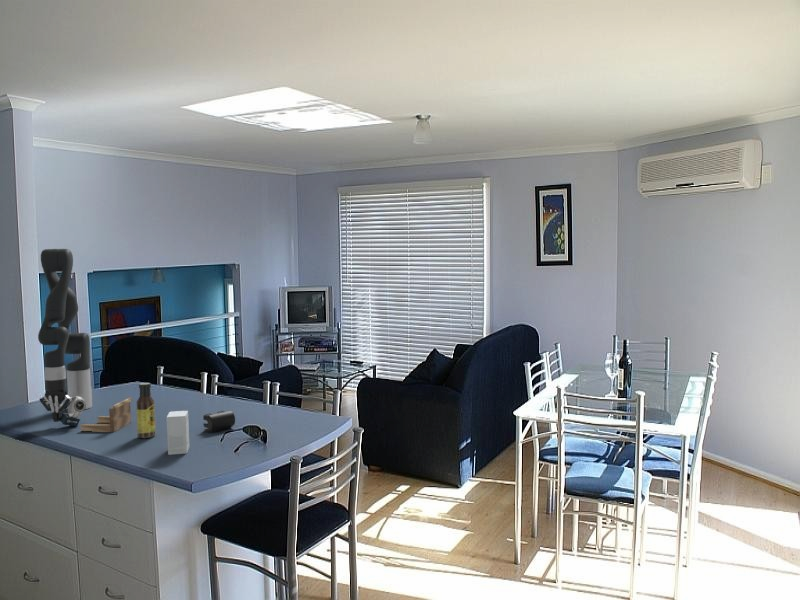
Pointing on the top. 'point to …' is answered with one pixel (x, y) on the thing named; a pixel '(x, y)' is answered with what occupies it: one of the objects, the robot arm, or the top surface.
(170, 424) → the small box
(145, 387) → the sauce bottle
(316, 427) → the top surface
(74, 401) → the watch
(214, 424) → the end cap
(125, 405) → the display stand
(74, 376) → the robot arm
